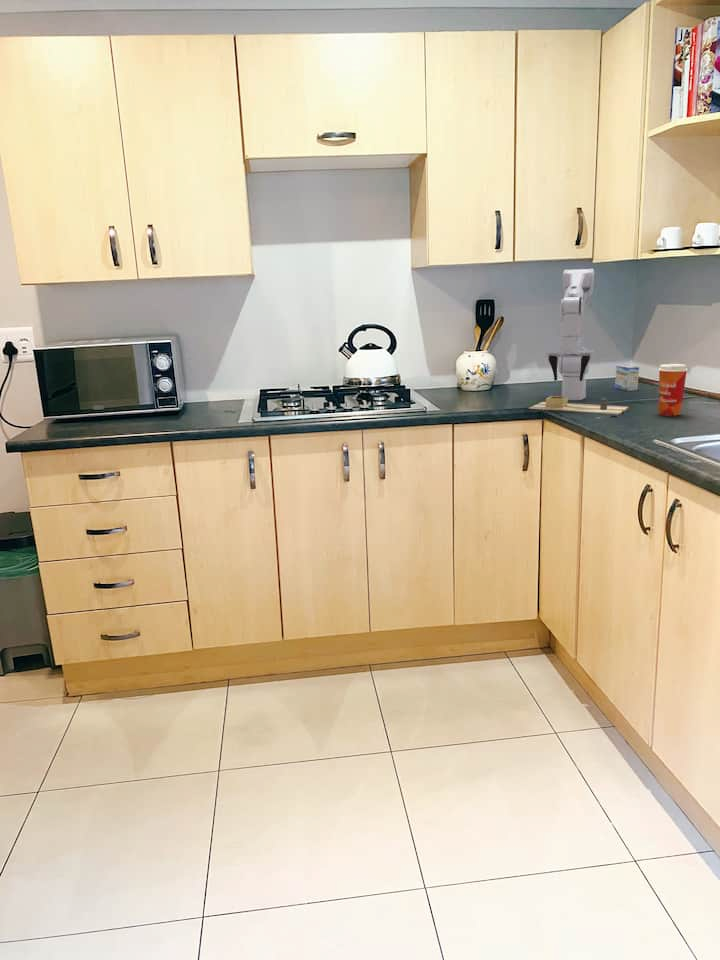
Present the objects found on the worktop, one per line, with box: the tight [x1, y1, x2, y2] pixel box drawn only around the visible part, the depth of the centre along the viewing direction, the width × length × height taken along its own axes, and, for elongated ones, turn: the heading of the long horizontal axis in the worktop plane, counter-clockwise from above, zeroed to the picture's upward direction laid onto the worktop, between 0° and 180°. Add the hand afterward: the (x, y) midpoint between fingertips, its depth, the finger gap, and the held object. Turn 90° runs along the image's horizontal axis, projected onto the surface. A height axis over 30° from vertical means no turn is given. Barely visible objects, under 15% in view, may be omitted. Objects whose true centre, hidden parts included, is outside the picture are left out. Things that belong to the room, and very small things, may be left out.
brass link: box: [545, 395, 569, 408], centre depth 234 cm, size 6×6×3 cm
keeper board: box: [529, 397, 629, 417], centre depth 230 cm, size 14×28×4 cm, turn 57°
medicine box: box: [614, 364, 640, 392], centre depth 269 cm, size 8×4×9 cm, turn 17°
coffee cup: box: [658, 363, 689, 417], centre depth 217 cm, size 8×8×15 cm
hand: (568, 380), depth 227 cm, fingers open, 7 cm apart
